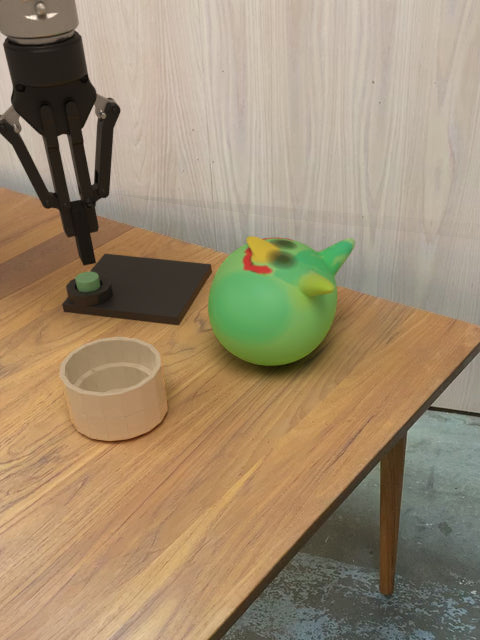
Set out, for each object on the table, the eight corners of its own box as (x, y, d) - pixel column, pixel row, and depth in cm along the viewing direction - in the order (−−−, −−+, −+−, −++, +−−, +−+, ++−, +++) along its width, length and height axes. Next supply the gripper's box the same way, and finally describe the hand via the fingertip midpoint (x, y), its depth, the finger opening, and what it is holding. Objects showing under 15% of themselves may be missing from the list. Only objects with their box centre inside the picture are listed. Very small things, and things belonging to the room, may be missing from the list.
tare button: (73, 291, 108) (71, 281, 107) (83, 280, 110) (81, 270, 109) (94, 294, 107) (92, 283, 106) (104, 282, 109) (102, 272, 108)
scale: (63, 312, 109) (58, 293, 107) (105, 261, 119) (102, 243, 117) (178, 326, 105) (176, 306, 103) (212, 272, 116) (210, 253, 114)
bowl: (55, 437, 89) (42, 387, 84) (95, 380, 97) (85, 331, 92) (147, 451, 87) (139, 401, 82) (180, 391, 94) (174, 342, 90)
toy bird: (231, 307, 108) (224, 205, 98) (352, 317, 106) (357, 213, 96) (197, 383, 96) (185, 275, 86) (333, 397, 93) (337, 287, 83)
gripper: (-24, 52, 71) (36, 285, 87) (116, 34, 74) (149, 261, 90) (-33, 33, 76) (26, 256, 92) (99, 16, 79) (133, 235, 95)
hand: (87, 259), depth 91 cm, fingers closed
